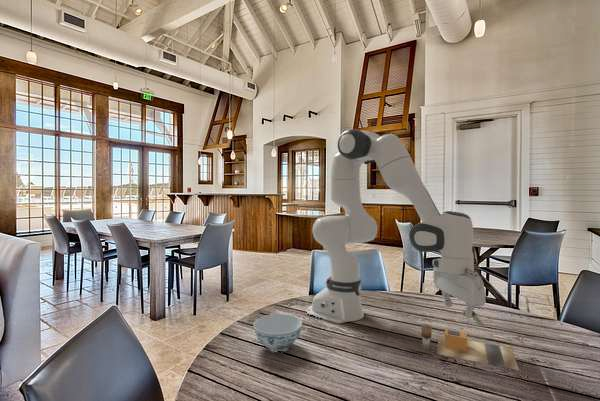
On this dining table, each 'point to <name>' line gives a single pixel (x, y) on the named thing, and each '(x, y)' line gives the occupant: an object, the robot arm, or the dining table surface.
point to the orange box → (456, 340)
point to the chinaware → (277, 331)
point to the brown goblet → (426, 336)
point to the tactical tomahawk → (477, 319)
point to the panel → (481, 353)
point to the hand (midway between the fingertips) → (457, 311)
